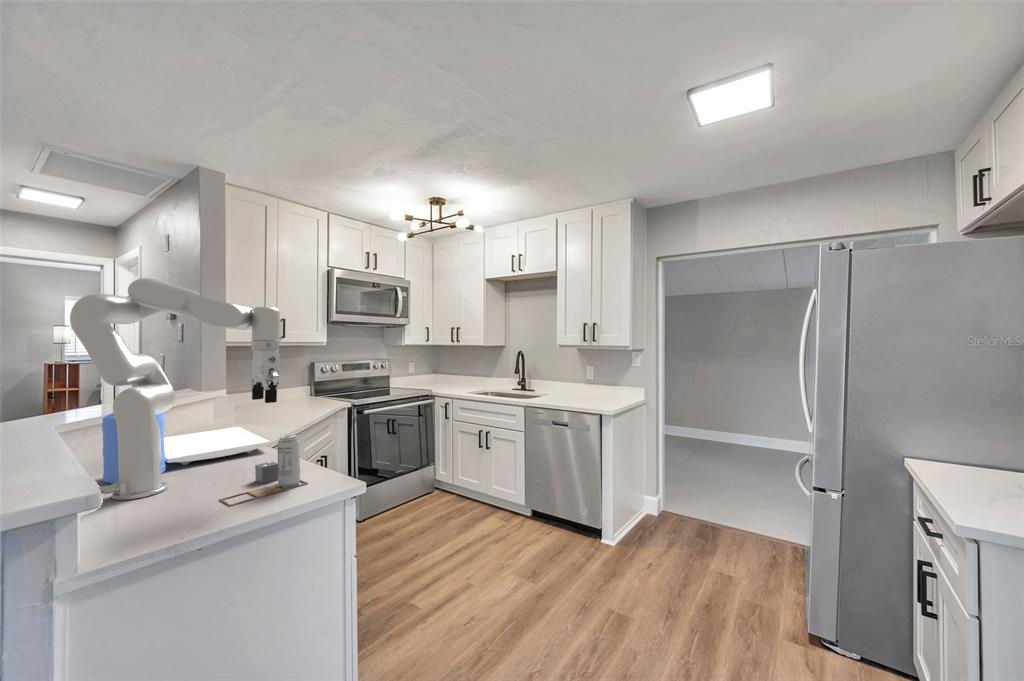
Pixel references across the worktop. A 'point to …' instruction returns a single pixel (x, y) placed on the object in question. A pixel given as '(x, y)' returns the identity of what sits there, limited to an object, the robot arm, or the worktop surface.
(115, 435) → the water jug
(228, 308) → the robot arm
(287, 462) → the energy drink can
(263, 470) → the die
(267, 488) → the board
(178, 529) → the worktop surface
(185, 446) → the board
